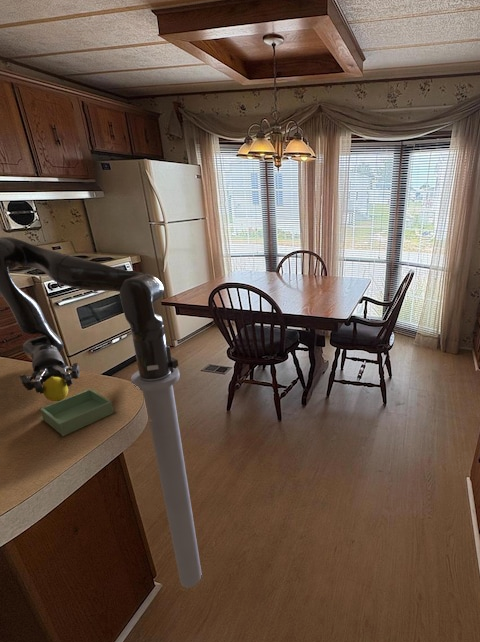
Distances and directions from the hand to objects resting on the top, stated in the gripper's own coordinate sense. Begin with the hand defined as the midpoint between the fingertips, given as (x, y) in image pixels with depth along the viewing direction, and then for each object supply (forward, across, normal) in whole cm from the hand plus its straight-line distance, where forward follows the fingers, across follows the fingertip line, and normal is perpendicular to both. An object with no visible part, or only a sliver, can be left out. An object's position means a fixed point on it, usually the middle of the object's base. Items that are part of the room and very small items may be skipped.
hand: (54, 386), depth 93 cm
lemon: (-3, 0, +6) cm, 7 cm away
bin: (+9, +3, +6) cm, 11 cm away
